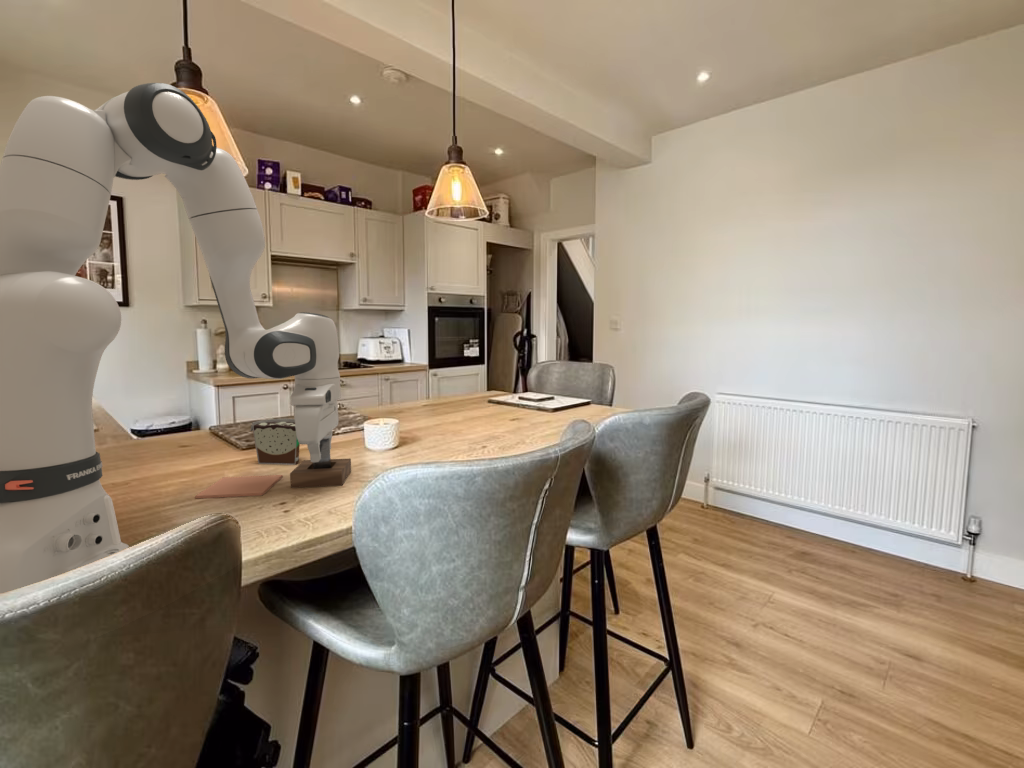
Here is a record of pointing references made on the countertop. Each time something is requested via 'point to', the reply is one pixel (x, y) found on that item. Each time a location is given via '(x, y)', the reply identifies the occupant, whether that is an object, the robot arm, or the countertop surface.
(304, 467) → the brown square peg hole
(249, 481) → the rubber mat
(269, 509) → the countertop surface
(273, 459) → the food container
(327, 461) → the metal peg
